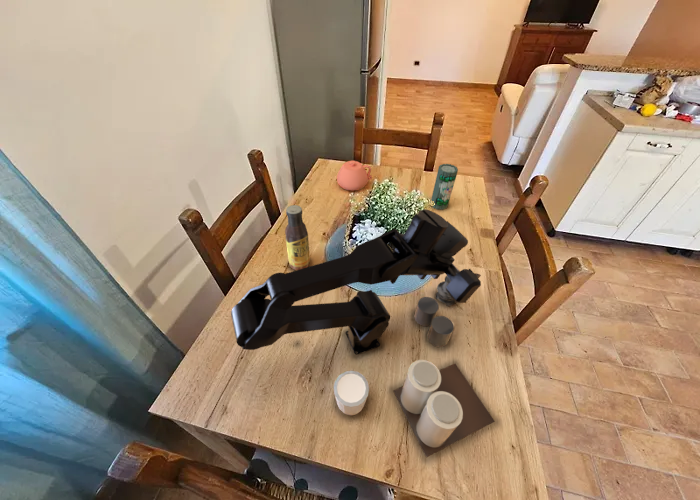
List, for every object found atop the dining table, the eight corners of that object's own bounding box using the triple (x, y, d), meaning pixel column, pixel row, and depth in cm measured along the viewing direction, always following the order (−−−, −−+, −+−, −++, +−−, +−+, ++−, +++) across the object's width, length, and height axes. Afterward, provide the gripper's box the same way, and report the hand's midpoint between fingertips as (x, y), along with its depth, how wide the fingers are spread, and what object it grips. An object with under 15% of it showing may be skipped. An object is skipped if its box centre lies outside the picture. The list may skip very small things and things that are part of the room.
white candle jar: (335, 383, 66) (334, 369, 62) (367, 385, 66) (368, 370, 62) (333, 418, 62) (332, 405, 57) (367, 419, 61) (369, 407, 57)
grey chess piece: (457, 308, 81) (469, 278, 73) (434, 304, 82) (444, 274, 73) (456, 291, 85) (468, 261, 77) (434, 287, 86) (444, 257, 78)
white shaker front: (427, 453, 57) (441, 433, 49) (410, 420, 61) (420, 397, 53) (453, 439, 59) (471, 418, 50) (436, 408, 63) (450, 383, 54)
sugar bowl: (335, 177, 127) (335, 154, 120) (369, 176, 128) (370, 153, 121) (338, 194, 119) (337, 170, 111) (374, 192, 120) (375, 168, 113)
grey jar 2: (434, 350, 72) (439, 337, 68) (422, 333, 76) (427, 319, 71) (452, 343, 74) (458, 330, 69) (440, 326, 77) (445, 312, 73)
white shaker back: (409, 419, 61) (419, 395, 53) (395, 390, 65) (402, 364, 57) (435, 406, 63) (449, 382, 55) (419, 379, 67) (430, 353, 58)
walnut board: (425, 458, 57) (426, 457, 57) (392, 391, 66) (392, 390, 65) (494, 422, 61) (495, 421, 61) (454, 364, 70) (455, 363, 70)
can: (438, 211, 111) (447, 174, 101) (427, 202, 115) (435, 166, 105) (450, 206, 114) (461, 170, 103) (439, 198, 117) (448, 162, 107)
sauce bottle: (297, 274, 89) (288, 221, 75) (285, 263, 92) (274, 209, 78) (315, 264, 92) (310, 210, 78) (303, 253, 95) (296, 199, 81)
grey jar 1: (420, 330, 76) (425, 316, 72) (410, 314, 80) (414, 300, 75) (437, 323, 78) (443, 309, 73) (426, 308, 81) (431, 294, 77)
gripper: (472, 264, 52) (520, 265, 60) (413, 201, 63) (460, 209, 72) (436, 307, 57) (484, 302, 66) (388, 242, 69) (435, 245, 78)
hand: (465, 262), depth 70 cm, fingers open, 9 cm apart
